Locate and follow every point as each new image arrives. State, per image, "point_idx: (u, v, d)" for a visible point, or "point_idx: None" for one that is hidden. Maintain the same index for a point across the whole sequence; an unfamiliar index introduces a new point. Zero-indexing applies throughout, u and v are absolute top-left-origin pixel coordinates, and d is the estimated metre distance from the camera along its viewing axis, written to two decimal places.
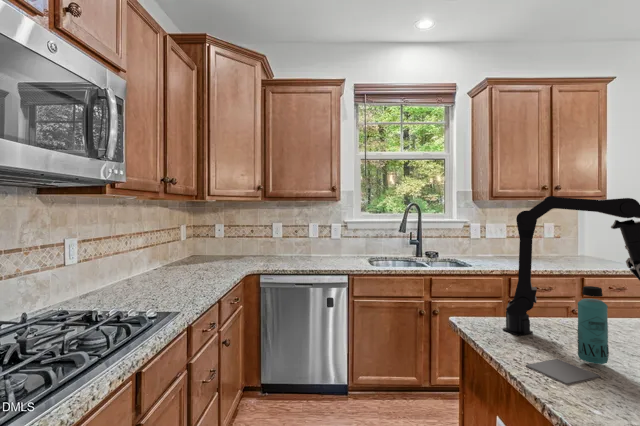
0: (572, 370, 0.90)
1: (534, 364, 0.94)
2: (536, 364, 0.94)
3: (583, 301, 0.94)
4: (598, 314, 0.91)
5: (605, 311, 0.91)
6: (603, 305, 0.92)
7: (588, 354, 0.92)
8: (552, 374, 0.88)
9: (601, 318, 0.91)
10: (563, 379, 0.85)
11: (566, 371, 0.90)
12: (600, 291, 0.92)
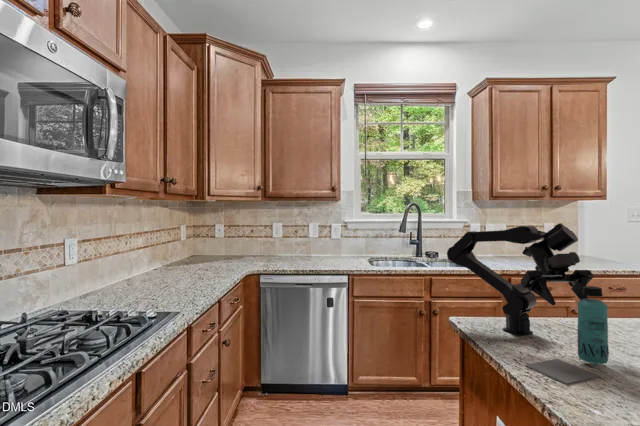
0: (572, 370, 0.90)
1: (534, 364, 0.94)
2: (536, 364, 0.94)
3: (583, 301, 0.94)
4: (598, 314, 0.91)
5: (605, 311, 0.91)
6: (603, 305, 0.92)
7: (588, 354, 0.92)
8: (552, 374, 0.88)
9: (601, 318, 0.91)
10: (563, 379, 0.85)
11: (566, 371, 0.90)
12: (600, 291, 0.92)
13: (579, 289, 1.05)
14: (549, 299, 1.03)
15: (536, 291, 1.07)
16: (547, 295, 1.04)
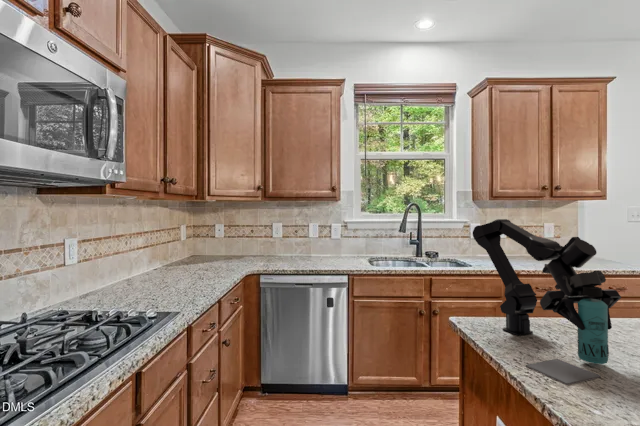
0: (572, 370, 0.90)
1: (534, 364, 0.94)
2: (536, 364, 0.94)
3: (583, 301, 0.94)
4: (598, 314, 0.91)
5: (605, 311, 0.91)
6: (603, 305, 0.92)
7: (588, 354, 0.92)
8: (552, 374, 0.88)
9: (601, 318, 0.91)
10: (563, 379, 0.85)
11: (566, 371, 0.90)
12: (600, 291, 0.92)
13: None
14: (577, 323, 0.94)
15: (562, 313, 0.98)
16: (575, 318, 0.94)
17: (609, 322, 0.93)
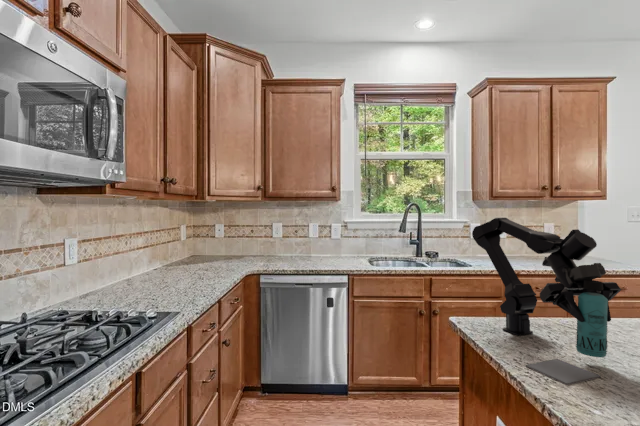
0: (572, 370, 0.90)
1: (534, 364, 0.94)
2: (536, 364, 0.94)
3: (583, 294, 0.94)
4: (598, 307, 0.91)
5: (605, 305, 0.92)
6: (603, 299, 0.92)
7: (586, 347, 0.92)
8: (552, 374, 0.88)
9: (601, 311, 0.91)
10: (563, 379, 0.85)
11: (566, 371, 0.90)
12: (601, 285, 0.92)
13: None
14: (577, 315, 0.94)
15: (562, 306, 0.98)
16: (575, 311, 0.94)
17: (608, 314, 0.93)
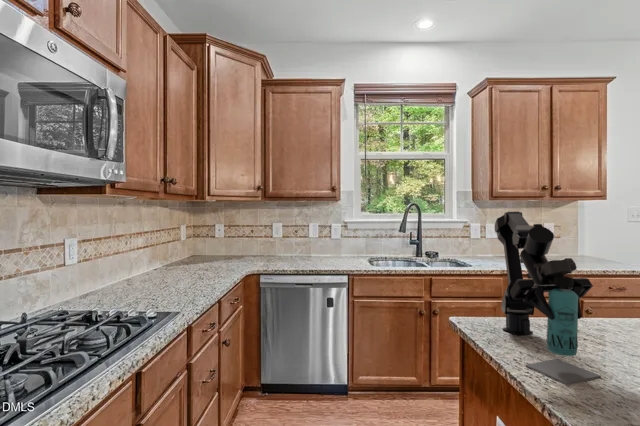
0: (572, 370, 0.90)
1: (534, 364, 0.94)
2: (536, 364, 0.94)
3: (553, 291, 0.91)
4: (568, 304, 0.88)
5: (575, 301, 0.88)
6: (573, 295, 0.88)
7: (556, 346, 0.89)
8: (552, 374, 0.88)
9: (571, 308, 0.88)
10: (563, 379, 0.85)
11: (566, 371, 0.90)
12: (571, 281, 0.89)
13: None
14: (547, 313, 0.91)
15: (532, 303, 0.94)
16: (545, 308, 0.91)
17: (579, 311, 0.90)
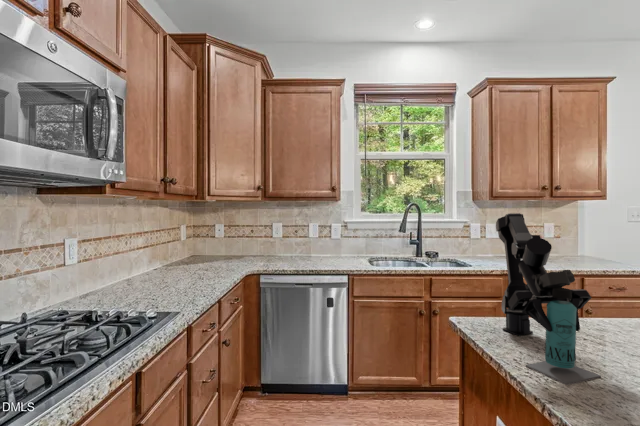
0: (572, 370, 0.90)
1: (534, 364, 0.94)
2: (536, 364, 0.94)
3: (552, 303, 0.91)
4: (566, 316, 0.88)
5: (573, 314, 0.88)
6: (571, 308, 0.88)
7: (554, 358, 0.89)
8: (552, 374, 0.88)
9: (569, 321, 0.87)
10: (563, 379, 0.85)
11: (566, 371, 0.90)
12: (569, 293, 0.89)
13: None
14: (545, 324, 0.90)
15: (530, 314, 0.94)
16: (543, 319, 0.91)
17: (577, 323, 0.90)
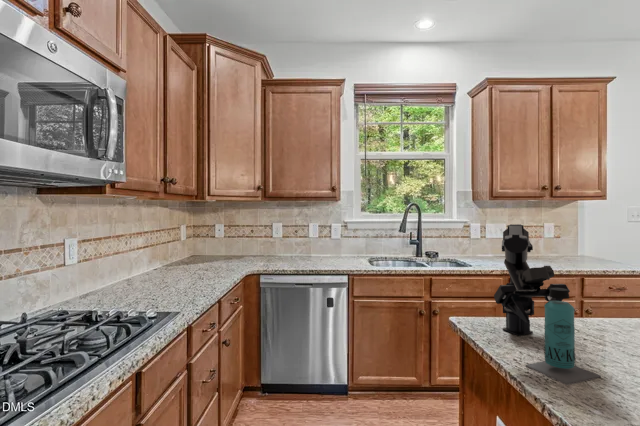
0: (572, 370, 0.90)
1: (534, 364, 0.94)
2: (536, 364, 0.94)
3: (549, 303, 0.91)
4: (564, 316, 0.88)
5: (571, 314, 0.88)
6: (569, 307, 0.88)
7: (554, 358, 0.89)
8: (552, 374, 0.88)
9: (567, 321, 0.88)
10: (563, 379, 0.85)
11: (566, 371, 0.90)
12: (566, 293, 0.89)
13: None
14: (522, 316, 0.98)
15: (510, 307, 1.02)
16: (520, 311, 0.98)
17: None
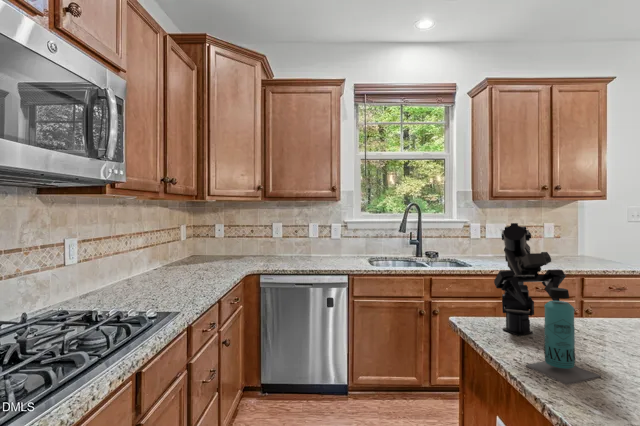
0: (572, 370, 0.90)
1: (534, 364, 0.94)
2: (536, 364, 0.94)
3: (549, 303, 0.91)
4: (564, 316, 0.88)
5: (571, 314, 0.88)
6: (569, 307, 0.88)
7: (554, 358, 0.89)
8: (552, 374, 0.88)
9: (567, 321, 0.88)
10: (563, 379, 0.85)
11: (566, 371, 0.90)
12: (566, 293, 0.89)
13: None
14: (521, 299, 1.04)
15: (509, 291, 1.08)
16: (519, 295, 1.04)
17: (557, 298, 1.03)
